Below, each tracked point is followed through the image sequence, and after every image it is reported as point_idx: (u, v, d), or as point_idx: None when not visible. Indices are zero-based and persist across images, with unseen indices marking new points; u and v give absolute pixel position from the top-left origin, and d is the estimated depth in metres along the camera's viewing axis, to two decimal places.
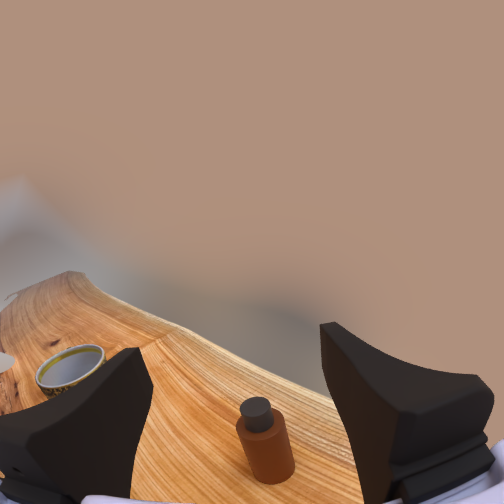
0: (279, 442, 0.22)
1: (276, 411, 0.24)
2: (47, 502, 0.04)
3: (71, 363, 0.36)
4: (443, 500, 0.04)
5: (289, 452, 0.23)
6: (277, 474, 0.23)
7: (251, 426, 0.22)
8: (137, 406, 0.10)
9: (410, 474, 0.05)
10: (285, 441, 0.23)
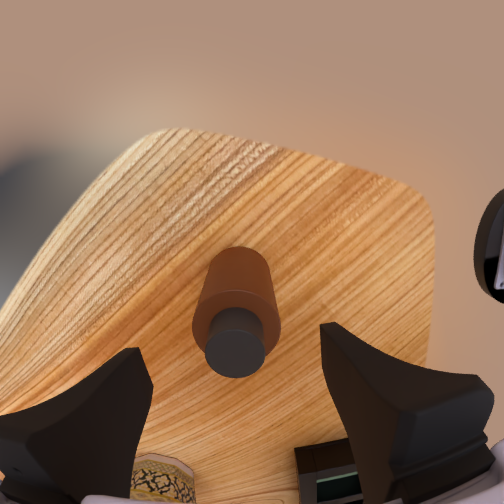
0: (268, 292, 0.15)
1: (210, 301, 0.14)
2: (47, 502, 0.04)
3: None
4: (443, 500, 0.04)
5: (252, 264, 0.17)
6: (270, 277, 0.19)
7: None
8: (137, 406, 0.10)
9: (410, 474, 0.05)
10: (256, 278, 0.15)
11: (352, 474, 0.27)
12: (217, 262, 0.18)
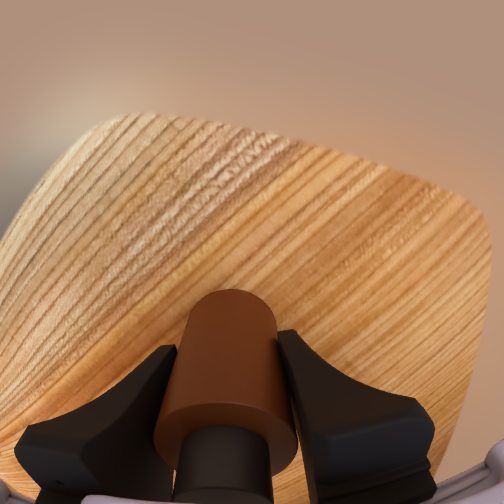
0: (278, 388, 0.08)
1: (179, 416, 0.07)
2: None
3: None
4: (443, 500, 0.04)
5: (250, 329, 0.11)
6: None
7: None
8: None
9: (336, 495, 0.05)
10: (257, 362, 0.09)
11: None
12: (197, 319, 0.12)
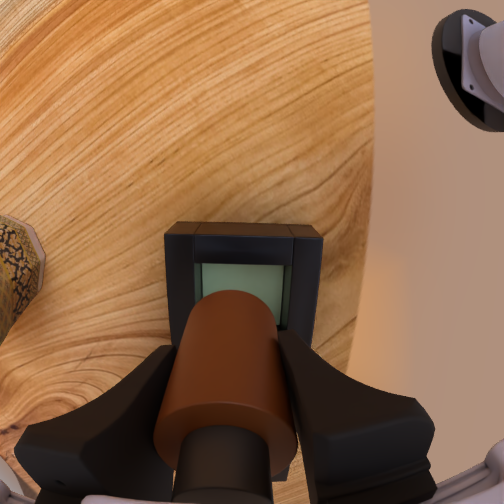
0: (278, 388, 0.08)
1: (179, 416, 0.07)
2: None
3: None
4: (443, 500, 0.04)
5: (250, 329, 0.11)
6: None
7: None
8: None
9: (336, 495, 0.05)
10: (257, 362, 0.09)
11: None
12: (197, 319, 0.12)
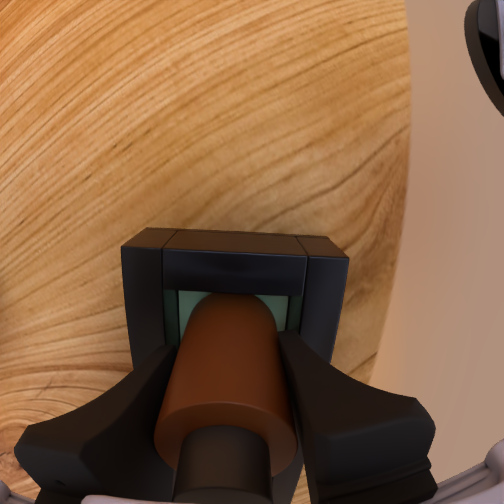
0: (278, 388, 0.08)
1: (180, 416, 0.07)
2: None
3: None
4: (443, 500, 0.04)
5: (250, 329, 0.11)
6: None
7: None
8: None
9: (337, 495, 0.05)
10: (257, 362, 0.09)
11: None
12: (197, 320, 0.12)
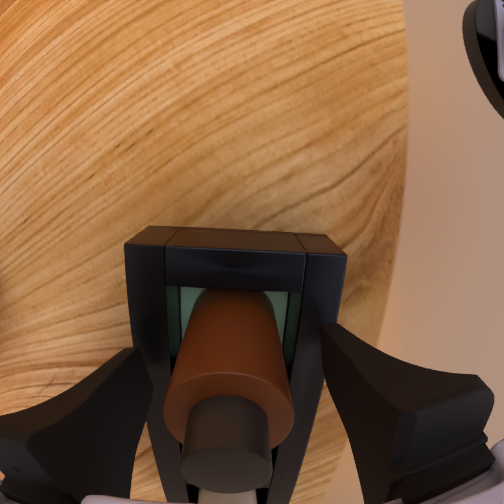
0: (276, 364, 0.09)
1: (187, 387, 0.08)
2: (47, 502, 0.04)
3: None
4: (443, 501, 0.04)
5: (250, 313, 0.12)
6: (276, 323, 0.14)
7: None
8: (137, 406, 0.10)
9: (410, 474, 0.05)
10: (257, 341, 0.10)
11: None
12: (202, 306, 0.13)
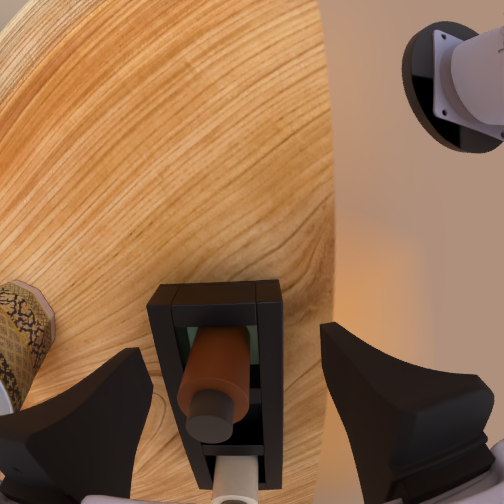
0: (237, 371, 0.17)
1: (188, 386, 0.16)
2: (47, 502, 0.04)
3: None
4: (443, 501, 0.04)
5: (226, 340, 0.19)
6: (248, 341, 0.21)
7: None
8: (137, 406, 0.10)
9: (410, 474, 0.05)
10: (227, 358, 0.17)
11: None
12: (198, 335, 0.20)
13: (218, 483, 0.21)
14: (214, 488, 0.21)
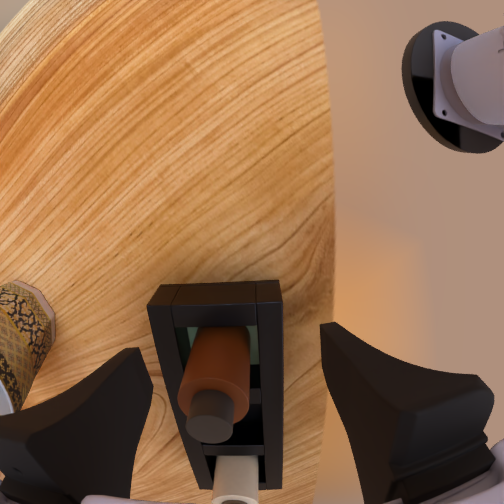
0: (237, 371, 0.17)
1: (188, 386, 0.16)
2: (47, 502, 0.04)
3: None
4: (443, 500, 0.04)
5: (226, 340, 0.19)
6: (248, 342, 0.21)
7: None
8: (137, 406, 0.10)
9: (410, 474, 0.05)
10: (227, 358, 0.17)
11: None
12: (198, 336, 0.20)
13: (218, 483, 0.21)
14: (214, 488, 0.21)
